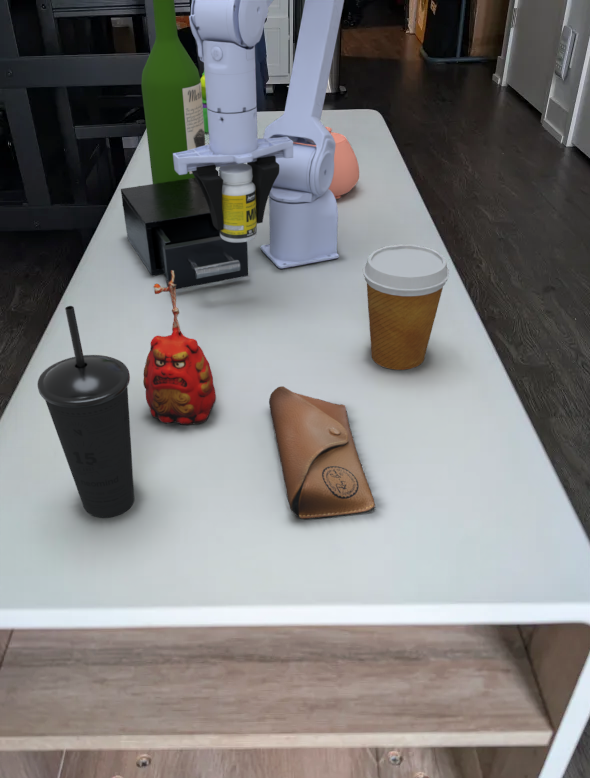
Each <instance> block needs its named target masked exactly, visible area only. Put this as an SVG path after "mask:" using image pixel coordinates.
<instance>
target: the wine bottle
mask: <svg viewBox="0 0 590 778" xmlns="http://www.w3.org/2000/svg"><path fill="white" fill-rule="evenodd" d="M152 6H153V18H154V31H155V38H154V39H155V40H154V43H153V45H152V48H151V50H150V53H149V55H148V58H147V60H146V61H145V65H144V67H143V69H142V72H141V83H140V85H141V95H142V102H143V111H144V119H145V120H144V121H145V128H146V139H147V146H148V154H149V164H150V171H151V181H152V184H157V183H163V182H170V181H177V180H183V179H190V178H195V177H194V175H193V173H192V171H189V172H187V174H183V175H179V174H178V173H177V172H176V171H175V170H174V160H173V153H178V152H183V151H187V150H191V149H194V148H197V147H201V146H204V145H206V135H205V132H204V119H203V105H202V91H201V80H200V79H201V77H200V72H199V69H198V67H197V65H196V64H195V63H194V61H193V60H192V58H191V57H190V55H189V54H188V51H187V50H186V48H185V47H184V45H183V43H182V42H181V41H180V37H179V36H178V25H177V17H176V6H175V0H152Z"/></svg>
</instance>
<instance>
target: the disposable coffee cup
mask: <svg viewBox="0 0 590 778" xmlns="http://www.w3.org/2000/svg"><path fill="white" fill-rule="evenodd" d="M447 263H448V261H447V259H446V257H445V256H444V255H443V254H442V253H441V252H440V251H438V250H435V249H433V248H430V247H426V246H422V245H418V244H417V245H416V244H392V245H386V246H381V247H380V248H377V249H374V250H373V251H372V252H371V253H369V255H368V257H367V260H366V262H365V264H364V265H363V267H362V276H363V277H364V281H365V282H366V293H367V308H368V309H367V310H368V323H369V336H370V337H369V339H370V352H371V354H370V355H371V359H372V361H373V362H374V363H375V364H377V365H378V366H381V367H383V368H385V369H388V370H389V369H390V370H395V371H398V370H399V371H400V370H401V371H403V370H410V369H414V368H417V367H419V366H420V365H421V364H423V363H424V361H425V357H426V354H427V349H428V346H429V341H430V338H431V334H432V331H433V327H434V323H435V319H436V316H437V312H438V308H439V304H440V301H441V296H442V292H443V289H444V286H445V285H446V283H447V281H448V279H449V278H450V275H451V273H450V269H449V267H448V264H447Z"/></svg>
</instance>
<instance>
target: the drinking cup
mask: <svg viewBox="0 0 590 778" xmlns="http://www.w3.org/2000/svg"><path fill="white" fill-rule="evenodd" d="M64 310H65V316H66V319H67V323H68V329H69V334H70V340H71V343H72V349H73V354H74V356H72V357H68V358H65V359H62V360H60V361H57V362H55V363H53V364H51V365H50V366H48V367H47V368H46V369H45V370H44V371H43V372H41V374H40V375H39V377H38V380H37V389H38V390H37V391H38V393H39V395H40V396H41V398H42V399H44V400H45V404H46V406H47V409H48V412H49V415H50V417H51V420H52V423H53V425H54V428H55V431H56V434H57V437H58V440H59V443H60V445H61V448H62V451H63V453H64V456H65V459H66V462H67V464H68V468H69V471H70V473H71V476H72V479H73V481H74V484H75V487H76V489H77V492H78V493H77V494H78V495H79V498H80V500H81V505H82V506H83V509H84V510H85V512H86V513H88V514H89V515H91V516H93V517H96V518H113V517H117V516H119V515H122V514H124V513H125V512H127V511H128V510H129V509H130V508H131V507H132V506H133V504H134V502H135V489H134V487H135V486H134V472H133V471H134V470H133V456H132V439H131V424H130V423H131V422H130V406H129V405H130V404H129V390H128V386H129V384H130V381H131V375H130V370H129V368H128V366H127V365H126V364H125V363H124V362H122V361H121V360H119V359H117V358H115V357H113V356H108V355H102V354H84V352H83V347H82V341H81V337H80V332H79V326H78V321H77V317H76V310H75V307H74V306H72V305H68V306H66V307H64Z"/></svg>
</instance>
